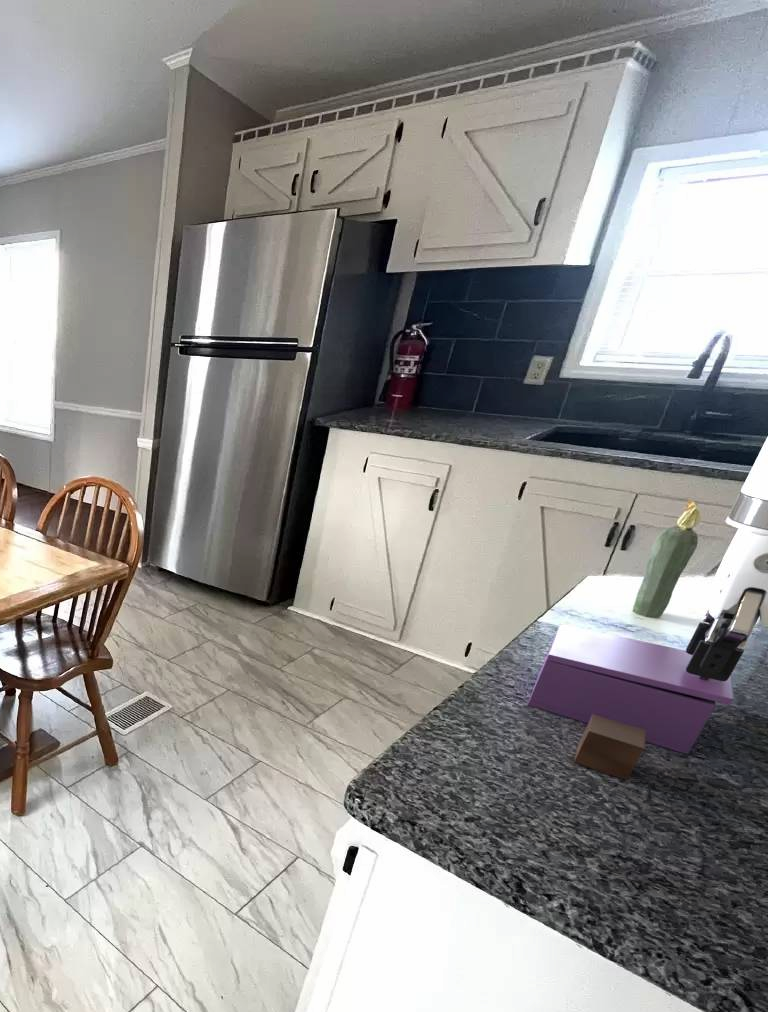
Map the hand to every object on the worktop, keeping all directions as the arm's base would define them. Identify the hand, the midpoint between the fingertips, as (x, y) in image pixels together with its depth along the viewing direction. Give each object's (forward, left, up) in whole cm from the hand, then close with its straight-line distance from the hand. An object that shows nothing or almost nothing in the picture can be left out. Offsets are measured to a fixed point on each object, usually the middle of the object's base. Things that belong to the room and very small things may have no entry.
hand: (705, 664), depth 73 cm
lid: (+5, +2, -2) cm, 6 cm away
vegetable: (+18, -29, -9) cm, 35 cm away
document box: (+5, +2, -9) cm, 11 cm away
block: (-1, +15, -9) cm, 17 cm away
